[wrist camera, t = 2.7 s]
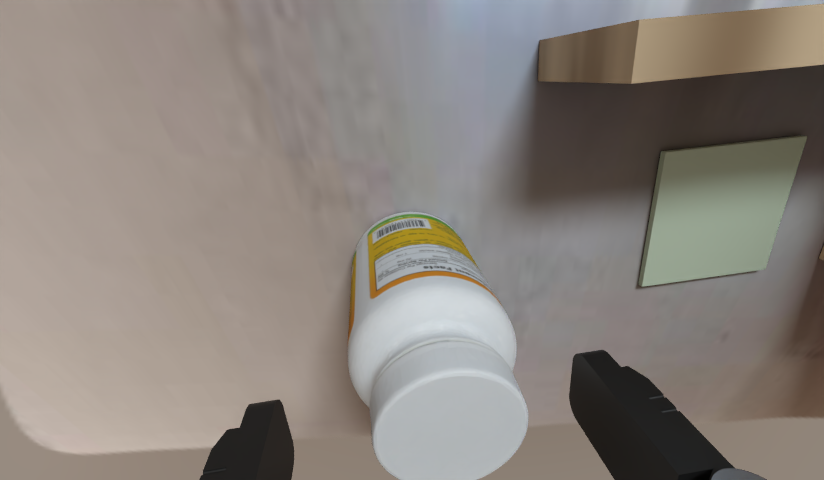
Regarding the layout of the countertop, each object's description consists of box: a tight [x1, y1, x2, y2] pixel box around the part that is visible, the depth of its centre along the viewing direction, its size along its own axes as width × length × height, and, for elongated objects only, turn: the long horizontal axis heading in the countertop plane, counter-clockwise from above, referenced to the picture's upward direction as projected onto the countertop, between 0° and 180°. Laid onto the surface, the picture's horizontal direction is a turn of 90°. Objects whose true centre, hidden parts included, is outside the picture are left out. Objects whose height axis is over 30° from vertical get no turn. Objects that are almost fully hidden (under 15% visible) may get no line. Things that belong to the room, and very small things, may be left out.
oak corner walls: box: [538, 4, 824, 261], centre depth 16 cm, size 18×12×6 cm, turn 95°
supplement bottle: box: [348, 212, 528, 480], centre depth 14 cm, size 5×5×10 cm
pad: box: [638, 135, 807, 287], centre depth 19 cm, size 7×7×1 cm
